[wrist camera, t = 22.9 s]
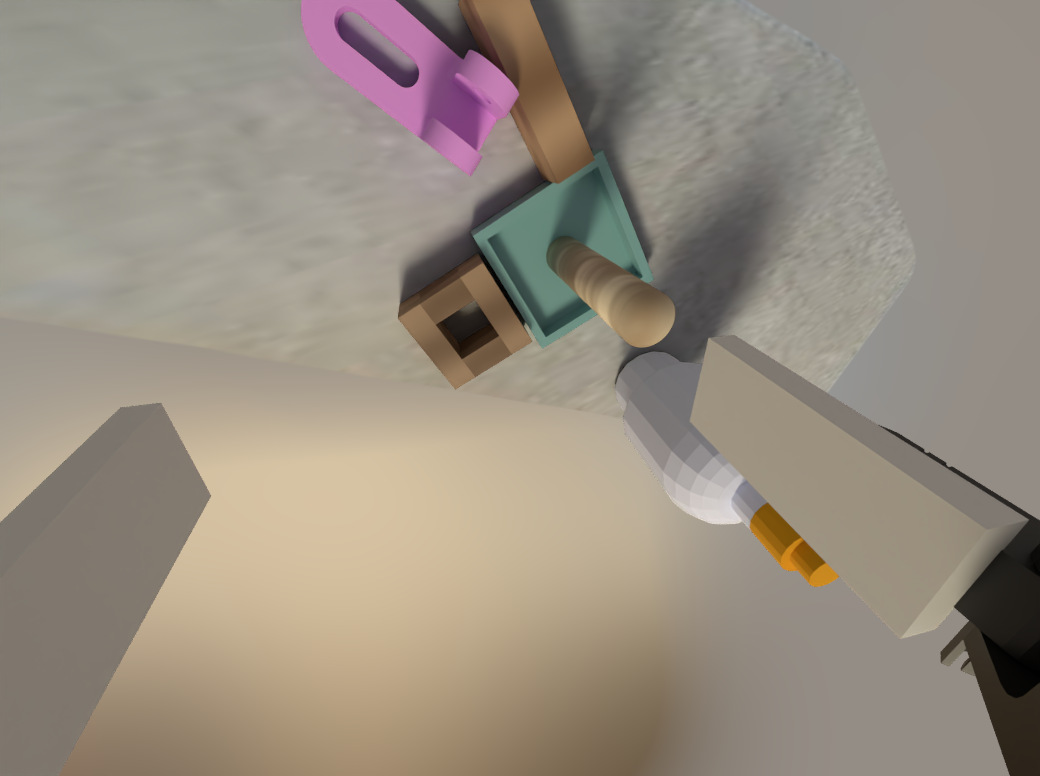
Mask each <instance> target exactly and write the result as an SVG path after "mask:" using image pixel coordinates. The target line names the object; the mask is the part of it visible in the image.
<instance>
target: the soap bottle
mask: <svg viewBox="0 0 1040 776" xmlns="http://www.w3.org/2000/svg"><path fill="white" fill-rule="evenodd" d="M702 365H703V364H699V363H687V362H680V361H679V360H677V359H676V358H674V357H673V356H671V355H669V354H668V353H665V352H654V351H652V352H648V353H645V354H642V355H639V356H637V357H636V358H634V359H633V360H632V361H630V362H629V363H627V364H626V366H625V367H624V368H623V370H622V371H621V372H620V374H619V376H618V379H617V382H616V385H615V391H616V399H617V401H618V403H619V404H620V406H621V407H622V408H623V410H624V411H625V412H624V415H623V420H624V430H625V435H626V436H627V437H628V439H629V440H630V442H631V443H632V444H633V446H634V447H635V449H636V450H637V452H638V453H639V454H640V456H641V457H642V459H643V460H644V462H645V463H646V464H647V466H648V467H649V469H650V470H651V472H652V473H653V475H654V476H655V477H656V479H657V480H658V482H659V483H660V485H661V486H662V487H663V489H664V490H665V492H666V493H667V494H668V496H669V497H670V498H671V500H672V501H673V502H674V503H675V504H676V505H677V506H678V507H680V508H681V509H682V510H683V511H685V512H686V513H688V514H691V515H692V516H694V517H696V518H698V519H701V520H703V521H706V522H708V523H711V524H737V523H740V522H744V523H745V525H746V526H747V527H748V528H749V529H750V531H751V532H752V533H754V535H755V536H756V537H757V538H758V539H759V540H760V542H761V543H762V544H763V545H764V547H765V548H766V549H767V550H768V551H769V552H770V553H771V555H772V556H773V557H774V558H775V560H776V561H777V562H778V563H779V564H780V565H781V567H782V568H783V569H785V570H788V571H797V570H798V571H799V572H800V574H801V575H802V576H803V577H804V578H805V579H806V580H807V581H808V583H809V584H810V585H812V586H814V587H817V586H823V585H826V584H829V583H830V582H832V581H834V580H836V579H837V578H838V577H839V575H838V574H837V573H836V572H835V571H834V570H833V569H832V568H831V567H830V566H829V565H828V564H827V563H826V562H825V561H824V560H823V559H822V558H821V557H820V556H819V555H818V554H817V553H816V552H815V551H814V550H813V549H812V548H811V546H810V545H809V544H808V543H807V542H806V541H805V540H804V539H803V538H802V537H801V536H800V535H799V534H798V533H797V532H796V531H795V530H794V529H793V528H792V527H791V526H790V525H789V524H788V523H787V522H786V521H785V520H784V519H783V517H782V516H781V515H780V514H779V513H778V512H777V511H776V510H775V509H774V508H773V507H772V506H771V505H770V504H769V503H768V502H767V501H766V500H765V499H764V498H763V497H762V496H761V495H760V494H759V493H758V492H757V491H756V490H755V489H754V487H753V486H752V485H751V484H750V483H749V482H748V481H747V480H746V479H745V478H744V477H743V476H742V475H741V474H740V473H739V472H738V471H737V470H736V469H735V468H734V467H733V466H732V465H731V464H730V463H729V462H728V461H727V460H726V458H725V457H724V456H723V455H722V454H721V453H720V452H719V451H718V450H717V449H716V448H715V447H714V446H713V445H712V444H711V443H710V442H709V441H708V440H707V439H706V438H705V437H704V436H703V435H702V434H701V433H700V432H699V431H698V429H697V428H696V427H695V426H694V425H693V424H692V423H691V422H690V417H691V413H692V409H693V404H694V400H695V395H696V391H697V387H698V382H699V378H700V373H701V369H702Z"/></svg>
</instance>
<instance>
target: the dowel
mask: <svg viewBox="0 0 1040 776" xmlns="http://www.w3.org/2000/svg"><path fill="white" fill-rule="evenodd" d="M546 261H547V264H548V266H549V268H550V269H551V270H552V271H553V272H554V273H555V274H556V275H557V276H558V277H559V278H561V279H562V280H563V281H564V282H565V283H566V284H567V285H568V286H569V287H570V288H571V289H572V290H573V291H574V292H575V293H576V294H577V295H578V296H579V297H580V298H581V299H582V300H583V301H584V302H585V303H586V304H588V305H589V306H590V307H591V308H592V309H593V310H594V311H595V312H596V313H597V314H598V315H599V316H600V317H601V318H602V319H603V320H604V321H605V322H606V323H607V324H608V325H609V326H610V327H611V328H612V329H613V330H615V331H616V332H617V333H618V334H619V335H620V336H621V337H622V338H623V339H624V340H625V341H626V342H627V343H628V344H630V345H632V346H635V347H648V346H652V345H654V344H656V343H658V342H659V341H661V340H662V339H663V338H664V337H665V336H666V335H667V334H668V333H669V331H670V329H671V328H672V326H673V323H674V320H675V307H674V304H673V302H672V300H671V299H670V298H669V297H668V296H667V295H665V294H664V293H662V292H660V291H659V290H657V289H656V288H654V287H652V286H651V285H649V284H647V283H646V282H644V281H643V280H641V279H639V278H638V277H636V276H634V275H633V274H631V273H630V272H628V271H626V270H625V269H623V268H621V267H620V266H618V265H617V264H615V263H613V262H612V261H610V260H608V259H607V258H605V257H604V256H602V255H600V254H599V253H597V252H595V251H594V250H592V249H591V248H589V247H587V246H586V245H584V244H582V243H581V242H579V241H578V240H576V239H574V238H572V237H570V236H562V237H559V238H557V239H555V240H554V241H553V242H552V243H551V244H550V245H549V247H548V249H547V253H546Z"/></svg>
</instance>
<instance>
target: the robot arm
mask: <svg viewBox="0 0 1040 776" xmlns="http://www.w3.org/2000/svg"><path fill="white" fill-rule="evenodd" d="M690 422H691V423H692V424H693V425H694V426H695V427H696V428H697V429H698V431H699V432H700V433H701V434H702V435H703V436H704V437H705V438H706V439H707V440H708V441H709V442H710V443H711V444H712V445H713V446H714V447H715V448H716V449H717V450H718V451H719V452H720V453H721V454H722V455H723V456H724V457H725V458H726V460H727V461H728V462H729V463H730V464H731V465H732V466H733V467H734V468H735V469H736V470H737V471H738V472H739V473H740V474H741V475H742V476H743V477H744V478H745V479H746V480H747V481H748V482H749V483H750V484H751V485H752V486H753V487H754V489H755V490H756V491H757V492H758V493H759V494H760V495H761V496H762V497H763V498H764V499H765V500H766V501H767V502H768V503H769V504H770V505H771V506H772V507H773V508H774V509H775V510H776V511H777V512H778V513H779V514H780V515H781V516H782V517H783V519H784V520H785V521H786V522H787V523H788V524H789V525H790V526H791V527H792V528H793V529H794V530H795V531H796V532H797V533H798V534H799V535H800V536H801V537H802V538H803V539H804V540H805V541H806V542H807V543H808V544H809V545H810V546H811V548H812V549H813V550H814V551H815V552H816V553H817V554H818V555H819V556H820V557H821V558H822V559H823V560H824V561H825V562H826V563H827V564H828V565H829V566H830V567H831V568H832V569H833V570H834V571H835V572H836V573H837V574H838V575H839V577H841V578H842V579H843V581H845V583H846V584H847V585H848V586H849V587H850V588H851V589H852V590H853V591H854V592H855V593H856V594H857V595H858V596H859V597H860V598H861V599H862V600H863V601H864V602H865V603H866V604H867V605H868V607H869V608H870V609H871V610H872V611H873V612H874V613H875V614H876V615H877V616H878V617H879V618H880V619H881V620H882V621H883V622H884V623H885V624H886V625H887V626H888V627H889V628H890V629H891V630H892V631H893V632H894V633H895V634H896V636H897V637H898V638H899V639H903V638H906V637H910V636H913V635H916V634H920V633H924V632H928V631H931V630H934V629H936V628H937V627H938V626H939V625H940V624H941V623H942V621H943V620H944V619H945V618H946V617H947V615H948V614H949V613H950V612H951V611H952V609H954V608H956V609H957V610H958V611H959V612H960V613H961V614H963V615H964V616H965V617H966V618H967V619H968V620H969V622H968V623H967V624H966V625H965V626H964V627H963V628H962V629H961V630H960V632H959V633H958V634H957V635H956V636H955V637H954V638H953V639H952V640H951V641H950V642H949V644H948V645H947V646H946V647H945V648H944V649H943V650H942V651H941V663H942V664H944V665H947V666H950V665H951V664H952V663H953V662H954V661H955V659H957V657H958V656H959V655H960V654H961V653H962V652H963V651H967V652H968V655H969V658H968V659H967V660H966V661H965V662H964V664H963V665H962V667H961V671H963V672H965V673H968V674H971V675H973V676H976V678H977V681H978V684H979V687H980V690H981V693H982V696H983V699H984V702H985V705H986V708H987V710H988V713H989V716H990V719H991V722H992V725H993V728H994V731H995V734H996V737H997V739H998V742H999V745H1000V748H1001V751H1002V754H1003V757H1004V760H1005V763H1006V766H1007V768H1008V771H1009V775H1010V776H1040V520H1038V519H1036V518H1035V517H1033V516H1032V515H1030V514H1028V513H1027V512H1025V511H1023V510H1022V509H1020V508H1018V507H1017V506H1015V505H1014V504H1012V503H1011V502H1009V501H1007V500H1006V499H1004V498H1002V497H1001V496H999V495H998V494H996V493H994V492H993V491H991V490H989V489H988V488H986V487H985V486H983V485H981V484H980V483H978V482H976V481H975V480H973V479H972V478H970V477H968V476H967V475H965V474H963V473H962V472H960V471H959V470H957V469H955V468H954V467H948V466H947V465H946V462H944V461H943V460H941V459H939V458H938V457H936V456H934V455H933V454H931V453H925V452H924V449H923V448H921V447H920V446H918V445H916V444H915V443H913V442H911V441H910V440H908V439H906V438H905V437H903V436H902V435H900V434H898V433H897V432H894V431H892V430H889V429H887V428H885V427H882V426H880V425H877V424H876V423H874V422H872V421H871V420H869V419H868V418H866V417H864V416H862V415H861V414H859V413H858V412H856V411H855V410H853V409H852V408H850V407H848V406H847V405H845V404H844V403H842V402H840V401H839V400H837V399H836V398H834V397H832V396H831V395H829V394H828V393H826V392H824V391H823V390H821V389H820V388H818V387H816V386H815V385H813V384H812V383H810V382H808V381H807V380H805V379H804V378H802V377H801V376H799V375H797V374H796V373H794V372H793V371H791V370H789V369H788V368H786V367H785V366H783V365H781V364H780V363H778V362H777V361H775V360H773V359H772V358H770V357H769V356H767V355H765V354H764V353H762V352H761V351H759V350H757V349H756V348H754V347H753V346H751V345H749V344H748V343H746V342H745V341H743V340H741V339H740V338H738V337H737V336H735V335H728V336H719V337H711V338H708V343H707V347H706V351H705V356H704V360H703V365H702V369H701V373H700V378H699V382H698V387H697V391H696V395H695V400H694V404H693V409H692V413H691V417H690ZM210 497H211V495H210V493H209V491H208V489H207V487H206V485H205V483H204V482H203V480H202V478H201V476H200V474H199V472H198V470H197V469H196V467H195V465H194V463H193V461H192V459H191V458H190V456H189V454H188V452H187V450H186V448H185V446H184V444H183V443H182V441H181V439H180V437H179V435H178V433H177V431H176V430H175V428H174V426H173V424H172V422H171V420H170V418H169V417H168V415H167V413H166V411H165V409H164V407H163V406H162V404H161V403H156V404H147V405H139V406H131V407H122V408H120V409H119V410H118V411H117V412H116V413H115V414H113V415H112V416H111V417H110V418H109V419H108V420H107V421H106V422H105V423H104V424H103V425H102V426H101V427H100V428H99V429H98V430H97V431H96V432H95V433H94V434H93V435H92V436H90V437H89V438H88V439H87V440H86V441H85V442H84V443H83V444H82V445H81V446H80V447H79V448H78V449H77V450H76V451H75V452H74V453H73V454H72V455H71V456H70V457H69V458H68V459H67V460H65V461H64V462H63V463H62V464H61V465H60V466H59V467H58V468H57V469H56V470H55V471H54V472H53V473H52V474H51V475H50V476H48V477H47V478H46V480H44V481H43V482H42V483H41V484H40V485H39V486H38V487H37V488H36V489H35V490H34V491H33V492H32V493H31V494H30V495H29V496H28V497H26V498H25V499H24V500H23V501H22V502H21V503H20V504H19V505H18V506H17V507H16V508H15V509H14V510H13V511H12V512H11V513H10V514H9V515H8V516H7V517H6V518H4V519H3V521H1V522H0V776H58V775H59V774H60V772H61V770H62V768H63V766H64V764H65V763H66V761H67V759H68V757H69V755H70V753H71V751H72V750H73V748H74V746H75V744H76V742H77V740H78V739H79V737H80V735H81V733H82V732H83V730H84V728H85V726H86V724H87V722H88V721H89V719H90V716H91V715H92V713H93V711H94V709H95V708H96V706H97V704H98V702H99V700H100V699H101V697H102V694H103V693H104V691H105V689H106V687H107V686H108V684H109V682H110V680H111V678H112V677H113V675H114V673H115V671H116V669H117V667H118V665H119V664H120V662H121V660H122V658H123V656H124V654H125V653H126V651H127V649H128V647H129V645H130V644H131V641H132V640H133V638H134V636H135V634H136V632H137V631H138V629H139V627H140V625H141V623H142V622H143V620H144V618H145V616H146V614H147V612H148V610H149V609H150V607H151V605H152V603H153V601H154V600H155V598H156V596H157V594H158V592H159V590H160V588H161V587H162V585H163V583H164V581H165V579H166V578H167V576H168V574H169V572H170V570H171V568H172V567H173V565H174V563H175V561H176V559H177V557H178V556H179V554H180V552H181V550H182V548H183V546H184V545H185V542H186V541H187V539H188V537H189V535H190V534H191V532H192V530H193V528H194V526H195V524H196V523H197V521H198V519H199V517H200V515H201V513H202V512H203V510H204V508H205V506H206V504H207V502H208V501H209V499H210Z"/></svg>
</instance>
